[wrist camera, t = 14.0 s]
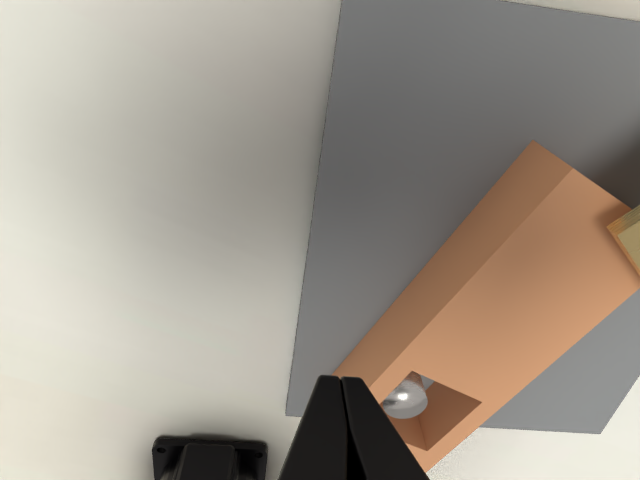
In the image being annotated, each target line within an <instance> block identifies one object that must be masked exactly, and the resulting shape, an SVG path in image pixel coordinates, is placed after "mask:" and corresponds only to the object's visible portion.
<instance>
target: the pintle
mask: <svg viewBox="0 0 640 480" xmlns="http://www.w3.org/2000/svg"><path fill="white" fill-rule="evenodd" d="M382 403H383V408H384V411H385V412H386V413H387V414H388V415H389V416H391V417H394V418H398V419H407V418H412V417H414V416H417V415H419V414H420V413H422V412H423V411H424V410H425V408H426V406H427V404H428V399H427V396H426V392H425V389H424V386H423V382H422V379H421V376H420V374H418V373H416V372H414V371H411V372H410V373H409V374H408V375H407V376H406V377H405V378H404V379H403V381H402V382H401V383H400V384H399V385H398V386H397V387H396V388H395V389H394V390H393V391H392V392H391V393H390V394H389V395H388V396H387V397H386V398H385V399H384V400H383V401H382Z"/></svg>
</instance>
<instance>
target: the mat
mask: <svg viewBox="0 0 640 480" xmlns="http://www.w3.org/2000/svg"><path fill="white" fill-rule="evenodd" d="M532 140H534V141H535V142H537V143H538V144H540V145H541V146H543V147H544V148H545V149H547V150H548V151H550V152H551V153H553V154H554V155H555V156H557V157H558V158H560V159H561V160H563V161H564V162H565V163H567V164H568V165H570V166H571V167H572V168H574V169H575V170H577V171H578V172H580V173H581V174H582V175H584V176H585V177H587V178H588V179H590V180H591V181H592V182H594V183H595V184H597V185H598V186H600V187H601V188H602V189H604V190H605V191H607V192H608V193H610V194H611V195H612V196H614V197H615V198H617V199H618V200H620V201H621V202H622V203H624V204H625V205H627V206H628V207H630V208H631V209H632V210H633V209H634V208H636V207H637V206H639V205H640V22H638V21H632V20H625V19H619V18H612V17H605V16H599V15H592V14H586V13H579V12H573V11H566V10H559V9H553V8H546V7H540V6H533V5H526V4H520V3H513V2H507V1H500V0H342V3H341V10H340V17H339V25H338V32H337V39H336V46H335V54H334V61H333V68H332V76H331V83H330V90H329V98H328V105H327V112H326V120H325V127H324V134H323V142H322V149H321V156H320V164H319V171H318V178H317V185H316V193H315V200H314V207H313V215H312V222H311V229H310V237H309V244H308V251H307V259H306V266H305V273H304V281H303V288H302V295H301V303H300V310H299V317H298V324H297V332H296V339H295V346H294V354H293V361H292V368H291V376H290V383H289V390H288V398H287V405H286V416H296V417H302V416H303V413H304V411H305V408H306V406H307V403H308V401H309V398H310V396H311V393H312V390H313V388H314V385H315V383H316V380H317V378H318V376H319V375H332V374H333V373H334V371H335V370H336V369H337V368H338V367H339V366H340V364H341V363H342V362H343V361H344V360H345V359H346V357H347V356H348V355H349V354H350V353H351V352H352V350H353V349H354V348H355V347H356V346H357V345H358V343H359V342H360V341H361V340H362V339H363V338H364V336H365V335H366V334H367V333H368V332H369V331H370V329H371V328H372V327H373V326H374V325H375V324H376V322H377V321H378V320H379V319H380V318H381V316H382V315H383V314H384V313H385V312H386V311H387V309H388V308H389V307H390V306H391V305H392V304H393V302H394V301H395V300H396V299H397V298H398V297H399V295H400V294H401V293H402V292H403V291H404V290H405V288H406V287H407V286H408V285H409V284H410V283H411V281H412V280H413V279H414V278H415V277H416V276H417V274H418V273H419V272H420V271H421V270H422V269H423V267H424V266H425V265H426V264H427V263H428V262H429V260H430V259H431V258H432V257H433V256H434V255H435V253H436V252H437V251H438V250H439V249H440V248H441V246H442V245H443V244H444V243H445V242H446V241H447V239H448V238H449V237H450V236H451V235H452V234H453V232H454V231H455V230H456V229H457V228H458V227H459V225H460V224H461V223H462V222H463V221H464V220H465V218H466V217H467V216H468V215H469V214H470V213H471V211H472V210H473V209H474V208H475V207H476V206H477V204H478V203H479V202H480V201H481V200H482V199H483V197H484V196H485V195H486V194H487V193H488V192H489V190H490V189H491V188H492V187H493V186H494V184H495V183H496V182H497V181H498V180H499V179H500V177H501V176H502V175H503V174H504V173H505V172H506V170H507V169H508V168H509V167H510V166H511V165H512V163H513V162H514V161H515V160H516V159H517V158H518V156H519V155H520V154H521V153H522V152H523V151H524V149H525V148H526V147H527V146H528V145H529V144H530V142H531V141H532ZM639 375H640V288H639V289H638V290H637V291H636V292H635V293H633V294H632V295H631V296H630V297H629V298H628V299H626V300H625V301H624V302H623V303H622V304H621V305H619V306H618V307H617V308H616V309H615V310H614V311H612V312H611V313H610V314H609V315H608V316H607V317H606V318H604V319H603V320H602V321H601V322H600V323H599V324H597V325H596V326H595V327H594V328H593V329H592V330H590V331H589V332H588V333H587V334H586V335H585V336H584V337H582V338H581V339H580V340H579V341H578V342H577V343H575V344H574V345H573V346H572V347H571V348H570V349H568V350H567V351H566V352H565V353H564V354H563V355H562V356H560V357H559V358H558V359H557V360H556V361H555V362H553V363H552V364H551V365H550V366H549V367H548V368H546V369H545V370H544V371H543V372H542V373H541V374H539V375H538V376H537V377H536V378H535V379H534V380H533V381H531V382H530V383H529V384H528V385H527V386H526V387H524V388H523V389H522V390H521V391H520V392H519V393H517V394H516V395H515V396H514V397H513V398H512V399H511V400H509V401H508V402H507V403H506V404H505V405H504V406H502V407H501V408H500V409H499V410H498V411H497V412H495V413H494V414H493V415H492V416H491V417H490V418H489V419H487V420H486V421H485V422H484V423H483V424H482V425H480V426H479V427H485V428H503V429H520V430H537V431H554V432H572V433H589V434H601V432H602V431H603V429H604V428H605V426H606V425H607V423H608V422H609V420H610V419H611V417H612V416H613V414H614V413H615V411H616V410H617V408H618V407H619V405H620V404H621V402H622V401H623V399H624V398H625V396H626V395H627V393H628V392H629V390H630V389H631V387H632V386H633V384H634V383H635V381H636V380H637V378H638V377H639ZM420 376H421V379H422V382H423V386H424V389H425V390H426V389H427V388H428V387H429V386H430V385H431V384H432V383H433V382H434V380H432V379H430V378H427V377H425V376H423V375H421V374H420Z"/></svg>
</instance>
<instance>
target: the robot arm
mask: <svg viewBox="0 0 640 480" xmlns="http://www.w3.org/2000/svg"><path fill="white" fill-rule="evenodd" d="M267 454H268V448H267V446H266V445H264V444H260V443H241V442H222V441H203V440H183V439H164V438H162V439H157V440H156V441H155V442H154V445H153V448H152V455H153V466H154V478H155V480H265V472H266V463H267ZM278 480H430V479H429V478H428V476H427V475H426V473H425V472H424V470H423V469H422V467H421V466H420V464H419V463H418V461H417V460H416V458H415V457H414V455H413V454H412V452H411V451H410V449H409V448H408V446H407V445H406V443H405V442H404V440H403V439H402V437H401V436H400V434H399V433H398V431H397V430H396V428H395V427H394V425H393V424H392V422H391V421H390V420H389V418H388V417H387V415H386V414H385V412H384V411H383V409H382V408H381V406H380V405H379V403H378V402H377V400H376V399H375V397H374V396H373V394H372V393H371V391H370V390H369V388H368V387H367V385H366V384H365V382H364V381H363V380H362V379H361V378H360V377H349V376H343V377H341V378H339V377H338V376H334V375H319V376H318V378H317V380H316V383H315V385H314V388H313V390H312V393H311V396H310V398H309V401H308V403H307V406H306V408H305V411H304V413H303V416H302V418H301V421H300V424H299V426H298V429H297V431H296V434H295V436H294V439H293V441H292V444H291V447H290V449H289V452H288V454H287V457H286V459H285V462H284V464H283V467H282V469H281V472H280V475H279V477H278Z"/></svg>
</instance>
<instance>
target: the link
mask: <svg viewBox="0 0 640 480" xmlns="http://www.w3.org/2000/svg"><path fill="white" fill-rule="evenodd" d="M631 210H632V209H631V208H630V207H628V206H627V205H625V204H624V203H622V202H621V201H620V200H618V199H617V198H615V197H614V196H612V195H611V194H610V193H608V192H607V191H605V190H604V189H602V188H601V187H600V186H598V185H597V184H595V183H594V182H592V181H591V180H590V179H588V178H587V177H585V176H584V175H582V174H581V173H580V172H578V171H577V170H575V169H574V168H572V167H571V166H570V165H568V164H567V163H565V162H564V161H563V160H561V159H560V158H558V157H557V156H555V155H554V154H553V153H551V152H550V151H548V150H547V149H545V148H544V147H543V146H541V145H540V144H538V143H537V142H535V141H534V140H532V141H531V142H530V144H529V145H528V146H527V147H526V148H525V149H524V151H523V152H522V153H521V154H520V155H519V156H518V158H517V159H516V160H515V161H514V162H513V163H512V165H511V166H510V167H509V168H508V169H507V170H506V172H505V173H504V174H503V175H502V176H501V177H500V179H499V180H498V181H497V182H496V183H495V184H494V186H493V187H492V188H491V189H490V190H489V192H488V193H487V194H486V195H485V196H484V197H483V199H482V200H481V201H480V202H479V203H478V204H477V206H476V207H475V208H474V209H473V210H472V211H471V213H470V214H469V215H468V216H467V217H466V218H465V220H464V221H463V222H462V223H461V224H460V225H459V227H458V228H457V229H456V230H455V231H454V232H453V234H452V235H451V236H450V237H449V238H448V239H447V241H446V242H445V243H444V244H443V245H442V246H441V248H440V249H439V250H438V251H437V252H436V253H435V255H434V256H433V257H432V258H431V259H430V260H429V262H428V263H427V264H426V265H425V266H424V267H423V269H422V270H421V271H420V272H419V273H418V274H417V276H416V277H415V278H414V279H413V280H412V281H411V283H410V284H409V285H408V286H407V287H406V288H405V290H404V291H403V292H402V293H401V294H400V295H399V297H398V298H397V299H396V300H395V301H394V302H393V304H392V305H391V306H390V307H389V308H388V309H387V311H386V312H385V313H384V314H383V315H382V316H381V318H380V319H379V320H378V321H377V322H376V324H375V325H374V326H373V327H372V328H371V329H370V331H369V332H368V333H367V334H366V335H365V336H364V338H363V339H362V340H361V341H360V342H359V343H358V345H357V346H356V347H355V348H354V349H353V350H352V352H351V353H350V354H349V355H348V356H347V357H346V359H345V360H344V361H343V362H342V363H341V364H340V366H339V367H338V368H337V369H336V370H335V371H334V373H333V374H332V375H334V376H338V377H339V378H341V377H343V376H349V377H360V378H361V379H362V380H363V381H364V382H365V384H366V385H367V387H368V388H369V390H370V391H371V393H372V394H373V396H374V397H375V399H376V400H377V402H378V403H379V405H380V406H381V408H382V409H383V411H384V408H383V403H382V401H383V400H384V399H385V398H386V397H387V396H388V395H389V394H390V393H391V392H392V391H393V390H394V389H395V388H396V387H397V386H398V385H399V384H400V383H401V382H402V381H403V379H404V378H405V377H406V376H407V375H408V374H409V373H410V372H411V371H414V372H416V373H418V374H421V375H423V376H425V377H427V378H430V379H432V380H434V382H433V383H432V384H431V385H430V386H429V387H428V388H427V389H426V390H425V392H426V396H427V399H428V404H427V406H426V408H425V410H424V411H423V412H422V413H420V414H419V415H417V416H414V417H412V418H407V419H398V418H394V417H391V416H389V415H388V414H387V413H386V412H385V411H384V412H385V414H386V415H387V417H388V418H389V420H390V421H391V422H392V424H393V425H394V427H395V428H396V430H397V431H398V433H399V434H400V436H401V437H402V439H403V440H404V442H405V443H406V445H407V446H408V448H409V449H410V451H411V452H412V454H413V455H414V457H415V458H416V460H417V461H418V463H419V464H420V466H421V467H422V469H423V470H424V472H425V473H426V472H427V471H428V470H429V469H431V468H432V467H433V466H434V465H435V464H436V463H438V462H439V461H440V460H441V459H442V458H443V457H444V456H446V455H447V454H448V453H449V452H450V451H451V450H453V449H454V448H455V447H456V446H457V445H458V444H460V443H461V442H462V441H463V440H464V439H465V438H466V437H468V436H469V435H470V434H471V433H472V432H473V431H475V430H476V429H477V428H478V427H479V426H480V425H482V424H483V423H484V422H485V421H486V420H487V419H489V418H490V417H491V416H492V415H493V414H494V413H495V412H497V411H498V410H499V409H500V408H501V407H502V406H504V405H505V404H506V403H507V402H508V401H509V400H511V399H512V398H513V397H514V396H515V395H516V394H517V393H519V392H520V391H521V390H522V389H523V388H524V387H526V386H527V385H528V384H529V383H530V382H531V381H533V380H534V379H535V378H536V377H537V376H538V375H539V374H541V373H542V372H543V371H544V370H545V369H546V368H548V367H549V366H550V365H551V364H552V363H553V362H555V361H556V360H557V359H558V358H559V357H560V356H562V355H563V354H564V353H565V352H566V351H567V350H568V349H570V348H571V347H572V346H573V345H574V344H575V343H577V342H578V341H579V340H580V339H581V338H582V337H584V336H585V335H586V334H587V333H588V332H589V331H590V330H592V329H593V328H594V327H595V326H596V325H597V324H599V323H600V322H601V321H602V320H603V319H604V318H606V317H607V316H608V315H609V314H610V313H611V312H612V311H614V310H615V309H616V308H617V307H618V306H619V305H621V304H622V303H623V302H624V301H625V300H626V299H628V298H629V297H630V296H631V295H632V294H633V293H635V292H636V291H637V290H638V289H639V288H640V276H639V274H638V273H637V271H636V270H635V268H634V267H633V265H632V264H631V262H630V261H629V260H628V258H627V257H626V255H625V254H624V252H623V251H622V249H621V248H620V246H619V245H618V243H617V242H616V240H615V239H614V237H613V236H612V234H611V233H610V231H609V230H608V228H607V226H608V225H610V224H611V223H613V222H614V221H616V220H617V219H619V218H620V217H622V216H623V215H625V214H627V213H628V212H630V211H631Z"/></svg>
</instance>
